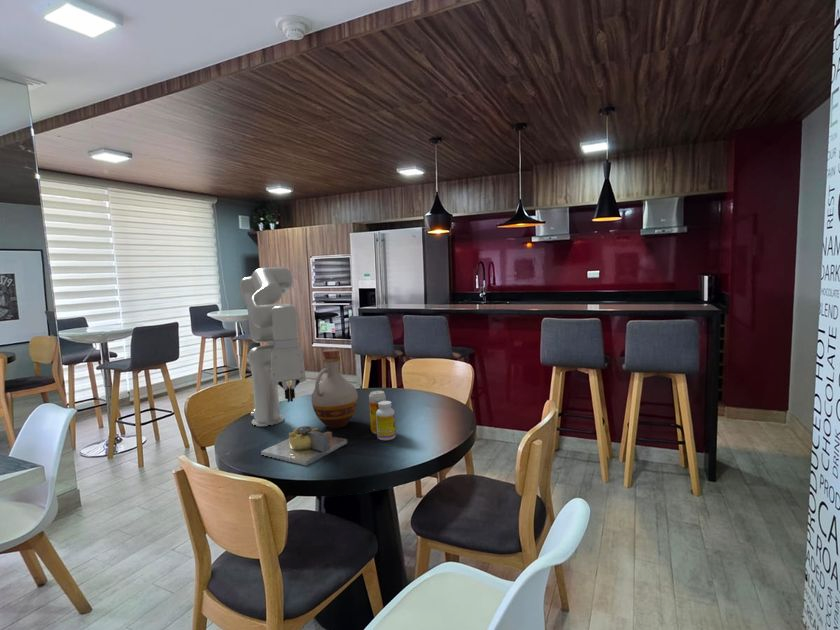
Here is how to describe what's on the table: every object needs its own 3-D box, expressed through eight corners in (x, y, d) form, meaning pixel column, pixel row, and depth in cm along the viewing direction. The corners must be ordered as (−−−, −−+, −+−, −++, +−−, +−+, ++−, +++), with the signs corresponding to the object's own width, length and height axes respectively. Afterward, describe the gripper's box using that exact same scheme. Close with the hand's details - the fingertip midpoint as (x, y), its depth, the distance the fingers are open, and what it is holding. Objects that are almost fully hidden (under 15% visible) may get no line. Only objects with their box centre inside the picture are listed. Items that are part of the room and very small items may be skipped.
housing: (261, 455, 146) (259, 436, 146) (304, 435, 164) (303, 418, 163) (306, 465, 136) (304, 445, 136) (346, 443, 154) (345, 425, 153)
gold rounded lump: (283, 445, 149) (282, 430, 148) (307, 436, 157) (306, 421, 156) (315, 456, 139) (313, 439, 138) (338, 445, 147) (337, 429, 146)
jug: (339, 436, 160) (332, 355, 158) (301, 431, 168) (294, 354, 166) (368, 419, 178) (362, 346, 175) (332, 416, 186) (326, 345, 183)
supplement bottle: (396, 440, 155) (395, 404, 154) (378, 442, 154) (376, 406, 153) (394, 433, 161) (393, 399, 160) (376, 435, 160) (374, 400, 159)
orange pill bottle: (373, 435, 160) (371, 395, 159) (368, 430, 166) (366, 391, 164) (389, 432, 162) (387, 393, 161) (384, 427, 168) (382, 389, 167)
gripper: (260, 348, 134) (265, 406, 136) (310, 343, 138) (314, 401, 140) (262, 344, 141) (266, 400, 143) (310, 340, 145) (313, 395, 147)
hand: (290, 400), depth 141 cm, fingers closed
